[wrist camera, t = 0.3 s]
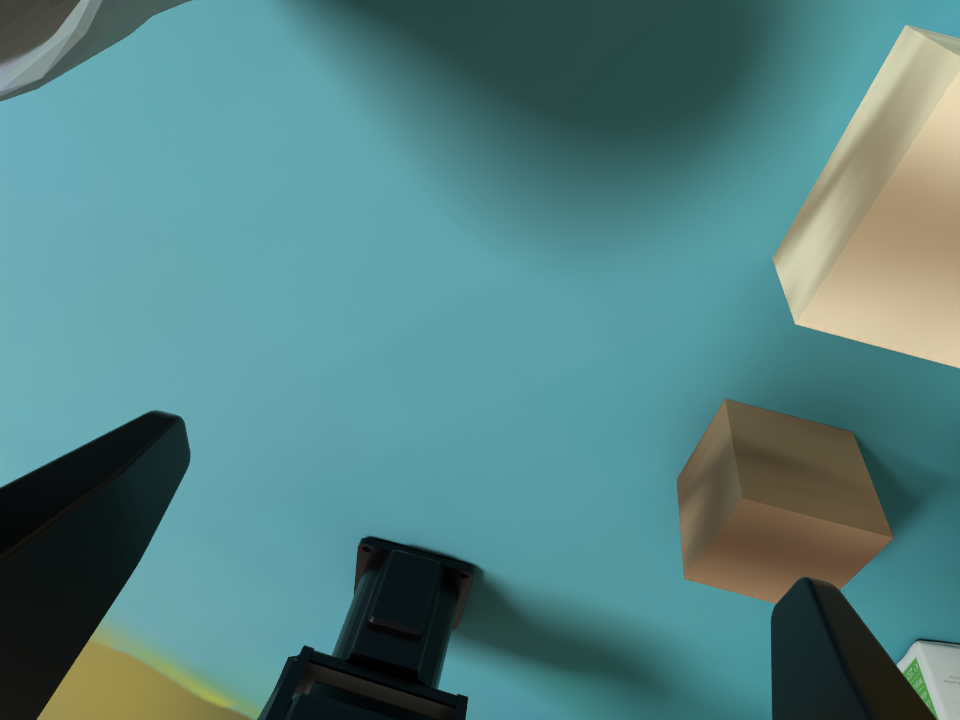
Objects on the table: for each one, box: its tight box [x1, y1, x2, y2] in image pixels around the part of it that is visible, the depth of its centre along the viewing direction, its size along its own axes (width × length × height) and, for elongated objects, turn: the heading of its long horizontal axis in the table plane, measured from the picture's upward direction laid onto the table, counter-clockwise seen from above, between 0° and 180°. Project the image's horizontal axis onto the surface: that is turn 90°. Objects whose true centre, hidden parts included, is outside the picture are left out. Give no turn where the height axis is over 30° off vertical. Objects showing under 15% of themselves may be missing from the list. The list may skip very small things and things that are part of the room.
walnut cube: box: [677, 399, 894, 604], centre depth 24 cm, size 5×5×5 cm
